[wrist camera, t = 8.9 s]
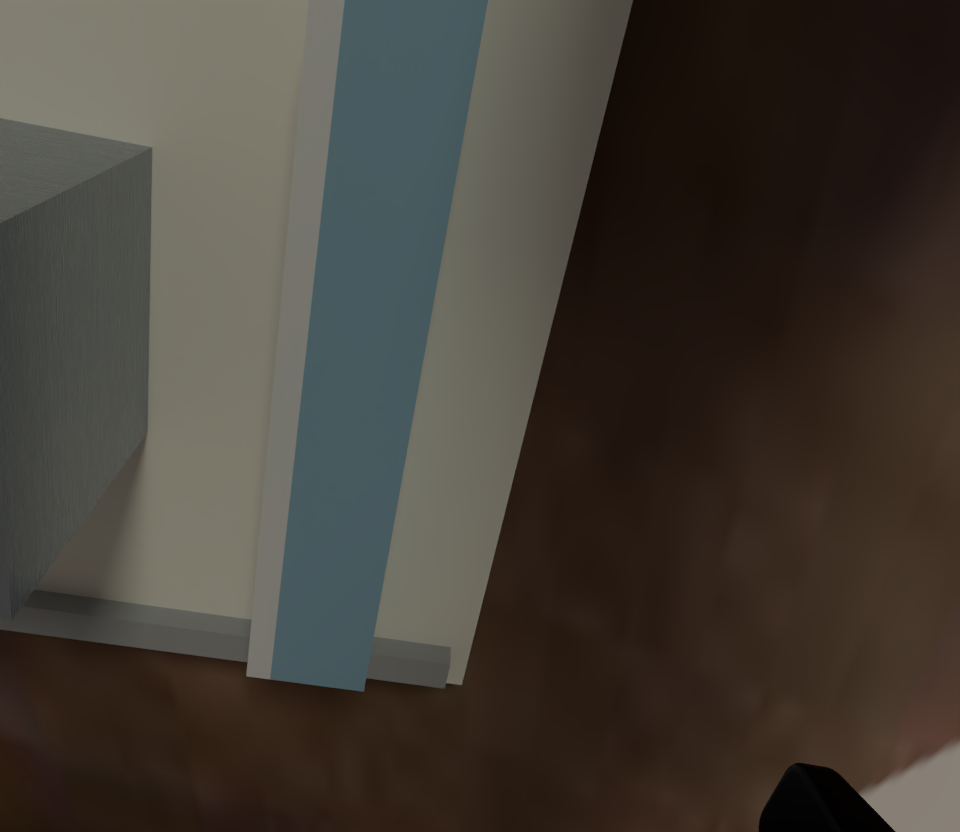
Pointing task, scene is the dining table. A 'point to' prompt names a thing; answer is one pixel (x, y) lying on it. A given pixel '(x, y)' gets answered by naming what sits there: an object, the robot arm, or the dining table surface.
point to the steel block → (67, 336)
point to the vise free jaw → (355, 319)
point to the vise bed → (257, 299)
